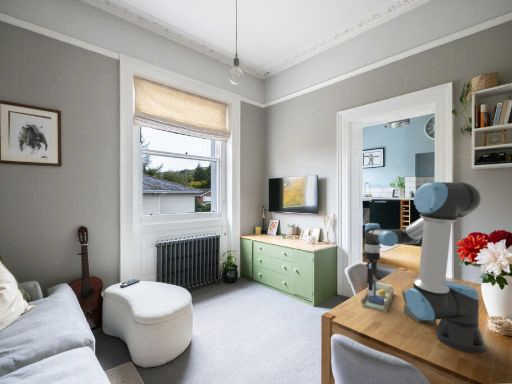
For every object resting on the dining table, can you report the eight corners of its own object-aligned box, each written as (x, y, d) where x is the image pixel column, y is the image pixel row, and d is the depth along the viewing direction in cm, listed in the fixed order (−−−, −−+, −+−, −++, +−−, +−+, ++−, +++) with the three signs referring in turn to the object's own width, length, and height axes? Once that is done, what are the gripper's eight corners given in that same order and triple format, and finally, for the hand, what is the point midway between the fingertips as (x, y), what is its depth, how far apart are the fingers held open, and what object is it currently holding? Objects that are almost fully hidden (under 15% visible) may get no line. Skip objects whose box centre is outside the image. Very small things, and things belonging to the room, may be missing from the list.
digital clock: (439, 326, 113) (439, 302, 113) (419, 326, 113) (419, 302, 113) (415, 309, 129) (415, 288, 129) (398, 309, 129) (398, 288, 129)
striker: (382, 304, 132) (382, 278, 132) (368, 301, 136) (368, 275, 136) (384, 300, 137) (384, 275, 137) (370, 297, 141) (370, 272, 141)
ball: (385, 298, 140) (385, 291, 140) (377, 296, 143) (377, 289, 143) (386, 295, 143) (386, 288, 143) (379, 294, 146) (379, 287, 146)
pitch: (386, 311, 127) (386, 299, 127) (361, 305, 133) (361, 294, 133) (393, 294, 149) (393, 283, 149) (371, 289, 156) (371, 279, 156)
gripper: (376, 256, 127) (376, 301, 127) (382, 249, 143) (382, 288, 143) (360, 254, 131) (360, 297, 131) (368, 247, 148) (368, 285, 148)
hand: (372, 293), depth 137 cm, fingers open, 8 cm apart
